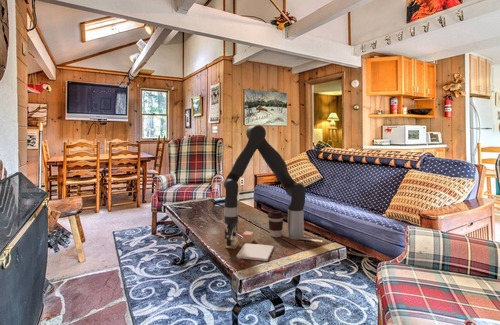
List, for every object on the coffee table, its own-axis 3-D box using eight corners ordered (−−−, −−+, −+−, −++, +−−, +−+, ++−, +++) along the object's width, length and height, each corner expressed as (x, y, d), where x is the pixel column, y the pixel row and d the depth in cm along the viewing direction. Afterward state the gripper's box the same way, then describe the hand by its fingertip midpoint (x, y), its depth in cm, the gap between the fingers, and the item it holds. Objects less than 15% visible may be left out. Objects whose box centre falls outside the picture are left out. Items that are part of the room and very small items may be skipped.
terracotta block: (253, 240, 161) (253, 231, 161) (251, 243, 156) (251, 235, 156) (245, 239, 162) (245, 231, 162) (243, 242, 158) (242, 234, 157)
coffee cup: (275, 239, 161) (275, 214, 160) (264, 235, 169) (264, 211, 167) (287, 235, 167) (287, 211, 166) (275, 231, 175) (275, 208, 173)
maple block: (238, 244, 155) (238, 236, 154) (235, 248, 149) (234, 240, 149) (229, 243, 156) (228, 235, 155) (225, 247, 151) (225, 239, 150)
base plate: (273, 248, 149) (273, 245, 149) (267, 261, 134) (267, 258, 134) (245, 245, 154) (245, 243, 153) (236, 257, 138) (236, 255, 138)
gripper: (233, 218, 143) (233, 248, 144) (241, 211, 156) (241, 238, 158) (220, 217, 145) (220, 247, 146) (229, 210, 158) (229, 237, 160)
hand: (231, 242), depth 152 cm, fingers open, 8 cm apart
